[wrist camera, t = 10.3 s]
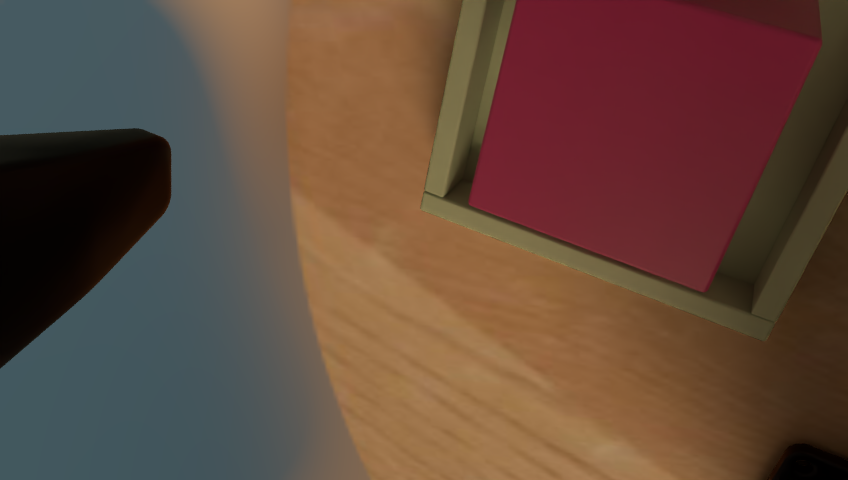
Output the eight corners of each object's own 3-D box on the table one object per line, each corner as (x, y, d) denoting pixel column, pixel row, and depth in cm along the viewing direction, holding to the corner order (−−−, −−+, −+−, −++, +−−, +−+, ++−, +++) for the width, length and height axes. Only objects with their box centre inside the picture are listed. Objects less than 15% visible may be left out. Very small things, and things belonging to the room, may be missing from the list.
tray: (768, 300, 20) (765, 343, 18) (447, 182, 22) (418, 210, 21) (991, -125, 14) (1015, -120, 13) (537, -220, 17) (507, -227, 15)
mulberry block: (727, 196, 19) (706, 295, 14) (534, 131, 20) (465, 205, 16) (819, -11, 16) (824, 39, 12) (590, -70, 17) (525, -43, 13)
